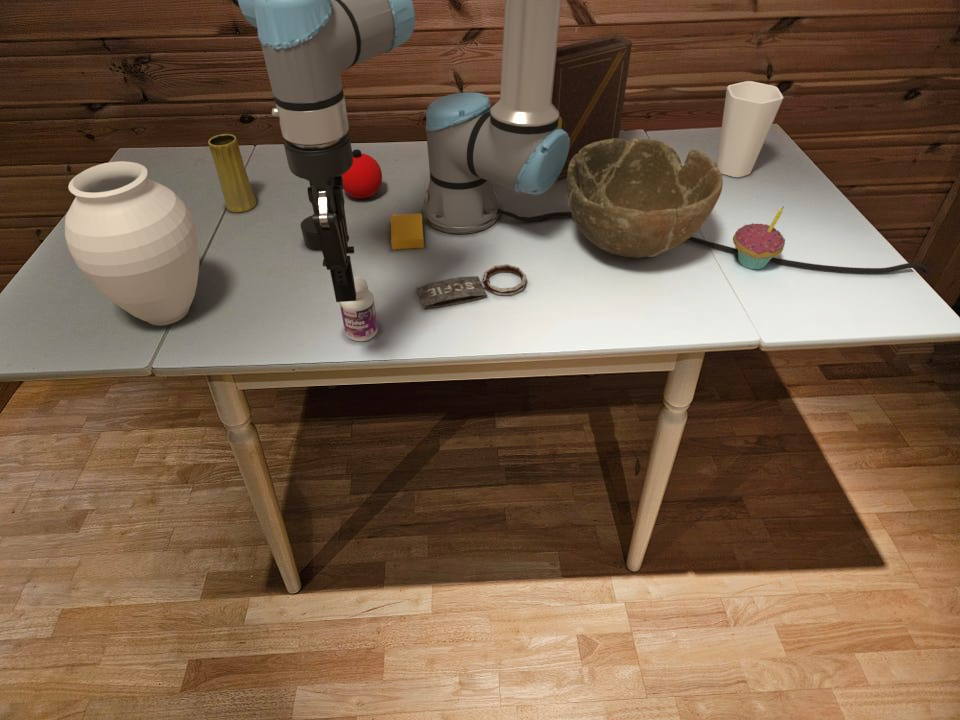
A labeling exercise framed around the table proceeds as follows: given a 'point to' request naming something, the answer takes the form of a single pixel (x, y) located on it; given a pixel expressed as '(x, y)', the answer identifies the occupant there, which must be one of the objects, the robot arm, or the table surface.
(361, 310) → the pill bottle
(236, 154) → the vase
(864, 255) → the table surface
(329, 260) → the robot arm
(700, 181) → the bowl
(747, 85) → the cup
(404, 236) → the orange rectangular block
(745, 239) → the cupcake
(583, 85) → the book
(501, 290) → the keychain
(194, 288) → the vase
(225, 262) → the table surface
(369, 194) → the ornament
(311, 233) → the metal tin
